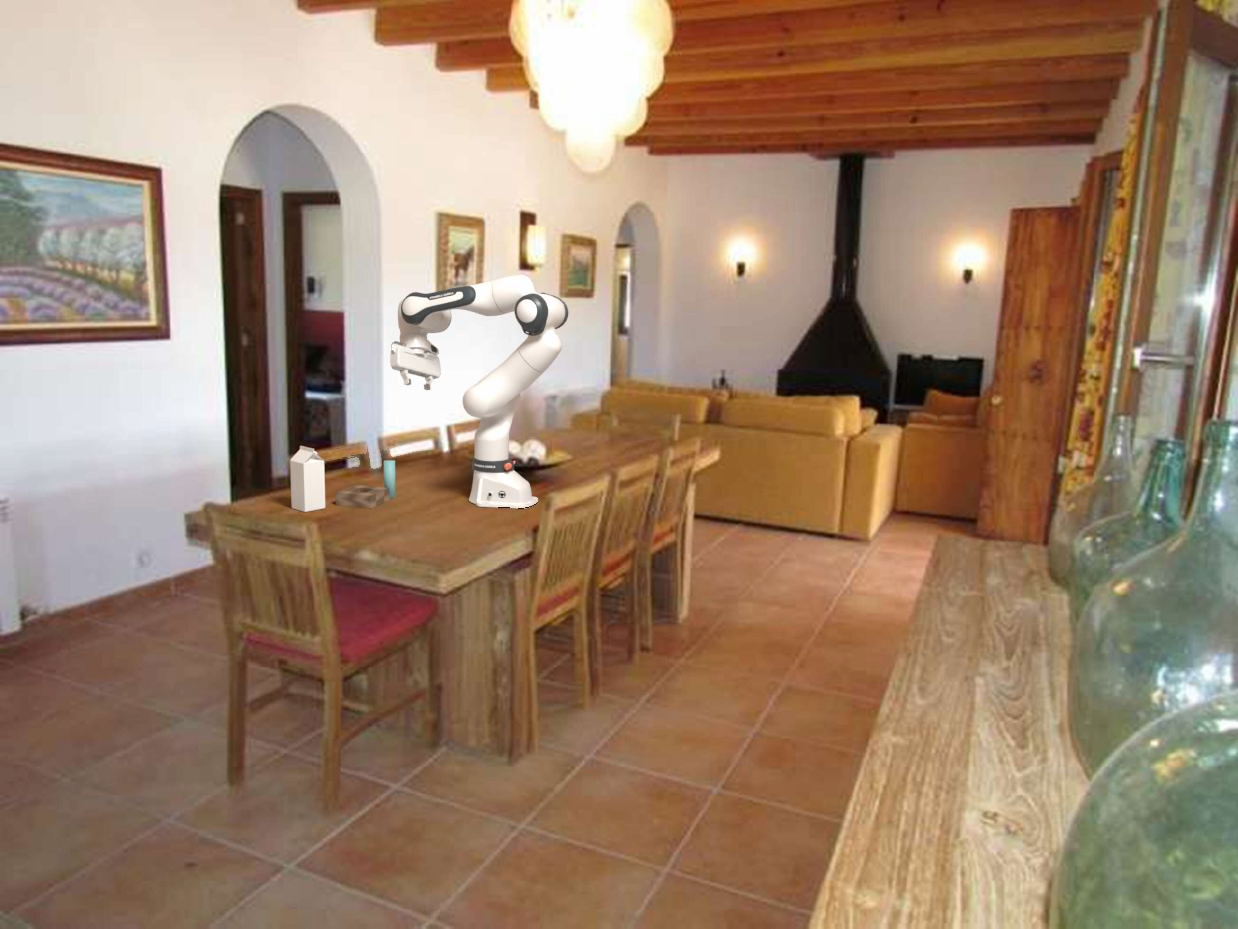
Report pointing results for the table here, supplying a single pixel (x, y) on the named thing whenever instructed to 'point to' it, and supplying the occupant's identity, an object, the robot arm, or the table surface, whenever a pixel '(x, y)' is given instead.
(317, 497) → the milk carton
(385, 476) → the peg
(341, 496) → the socket block
